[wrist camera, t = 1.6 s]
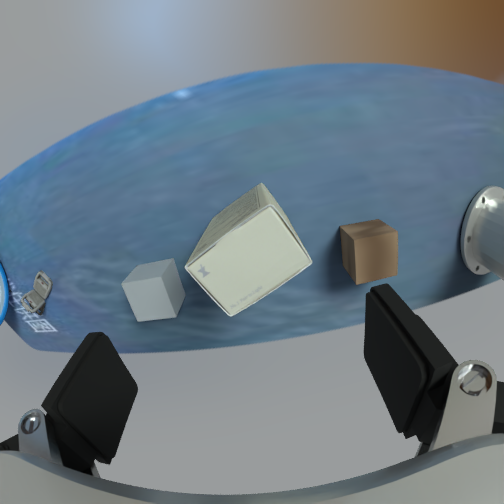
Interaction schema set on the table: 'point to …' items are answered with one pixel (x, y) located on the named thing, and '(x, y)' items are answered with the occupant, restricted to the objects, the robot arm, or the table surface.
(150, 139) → the table surface
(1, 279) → the alarm clock
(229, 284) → the skincare box
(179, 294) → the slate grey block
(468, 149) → the table surface
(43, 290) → the strap clip
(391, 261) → the walnut block
